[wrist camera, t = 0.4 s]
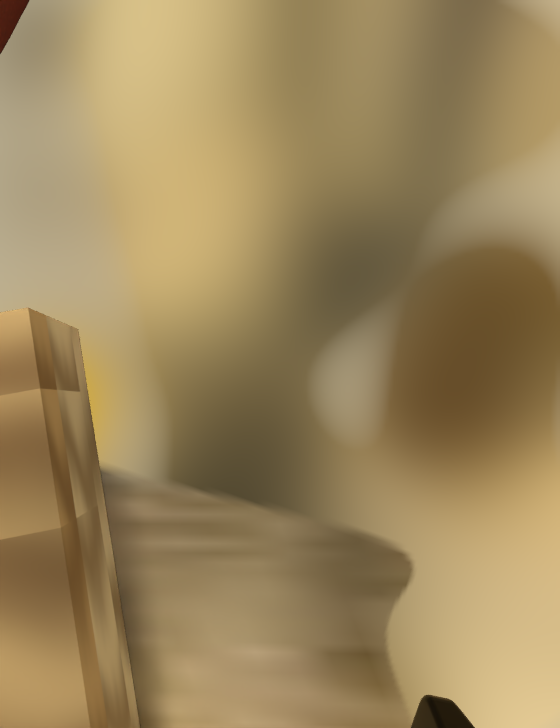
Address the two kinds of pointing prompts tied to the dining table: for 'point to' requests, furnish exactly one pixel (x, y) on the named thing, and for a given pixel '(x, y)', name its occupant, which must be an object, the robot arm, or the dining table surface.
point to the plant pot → (9, 18)
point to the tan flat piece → (55, 542)
